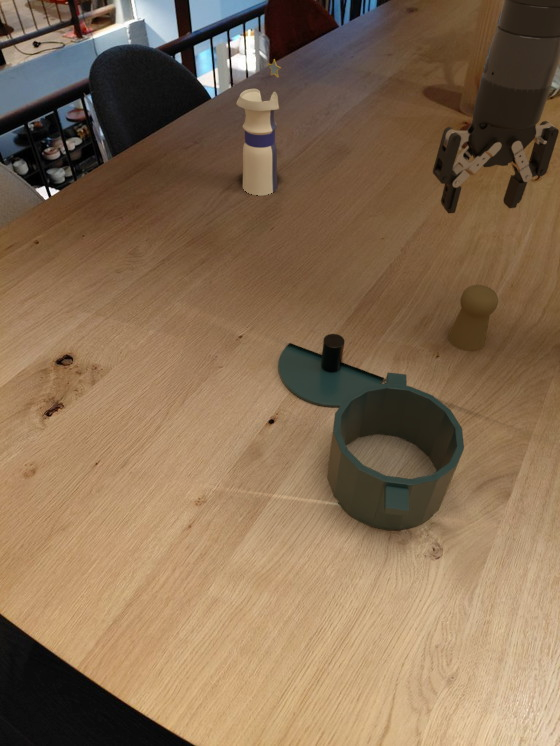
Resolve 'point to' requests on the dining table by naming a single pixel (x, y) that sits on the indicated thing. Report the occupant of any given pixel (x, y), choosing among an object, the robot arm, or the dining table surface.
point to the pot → (409, 422)
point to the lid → (322, 373)
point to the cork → (473, 318)
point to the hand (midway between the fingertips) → (479, 207)
